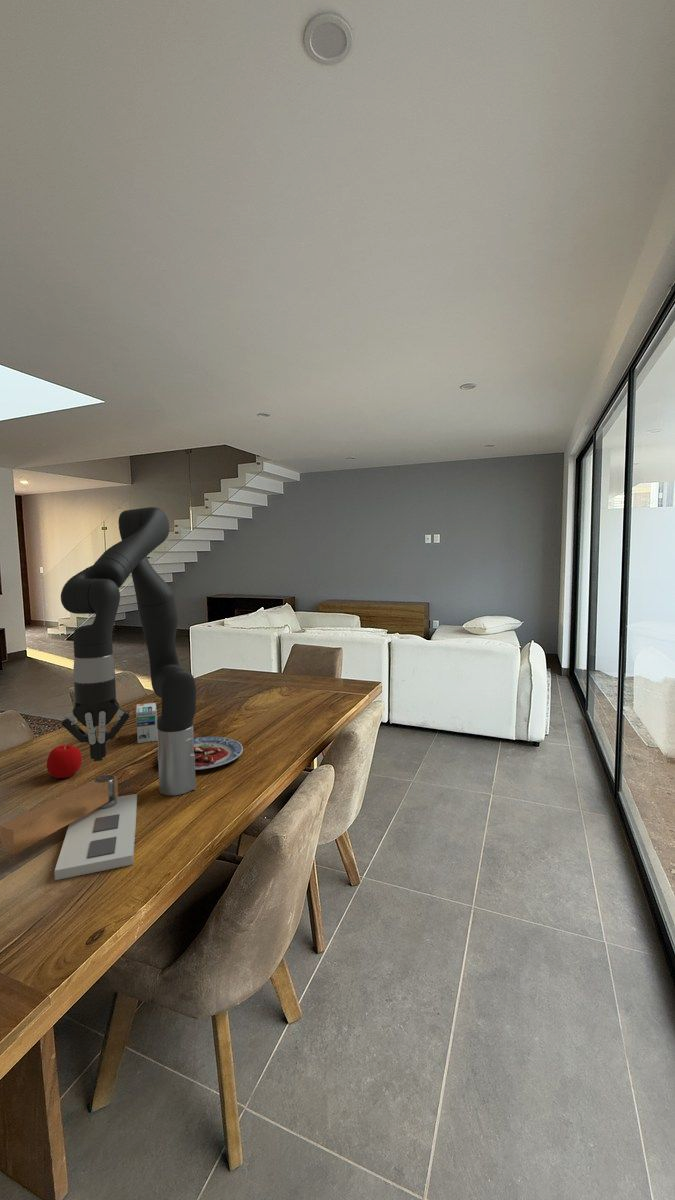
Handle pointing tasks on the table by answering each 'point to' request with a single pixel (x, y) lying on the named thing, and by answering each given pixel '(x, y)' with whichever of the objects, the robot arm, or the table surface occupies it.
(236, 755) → the ceramic plate
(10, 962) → the table surface
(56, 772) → the fruit
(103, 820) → the label board
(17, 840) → the swing arm
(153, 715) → the light bulb box
